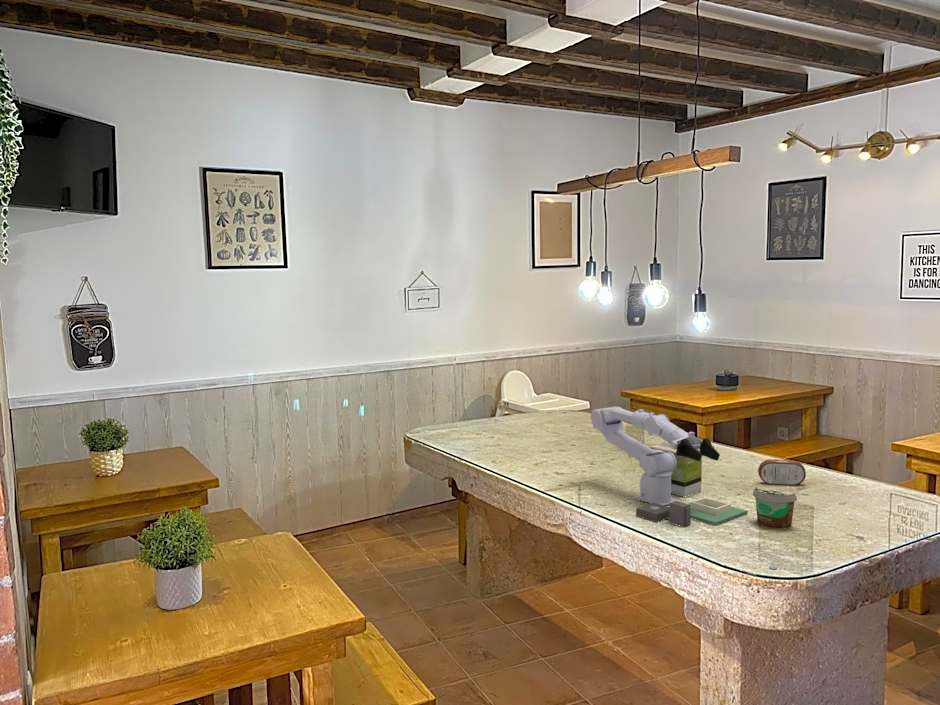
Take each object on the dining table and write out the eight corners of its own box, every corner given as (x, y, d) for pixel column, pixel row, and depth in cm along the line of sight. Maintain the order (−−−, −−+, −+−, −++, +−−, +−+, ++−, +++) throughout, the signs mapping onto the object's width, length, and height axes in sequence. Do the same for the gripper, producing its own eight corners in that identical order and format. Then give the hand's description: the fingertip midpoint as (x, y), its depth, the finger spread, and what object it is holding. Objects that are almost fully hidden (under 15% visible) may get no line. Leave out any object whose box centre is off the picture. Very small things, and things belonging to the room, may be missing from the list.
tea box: (647, 488, 251) (647, 446, 250) (664, 482, 258) (664, 441, 256) (685, 498, 240) (685, 453, 238) (702, 491, 246) (702, 448, 245)
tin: (804, 484, 251) (805, 460, 250) (806, 486, 248) (806, 462, 247) (757, 482, 255) (758, 458, 255) (758, 484, 252) (759, 460, 252)
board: (670, 512, 226) (670, 503, 226) (702, 501, 235) (702, 492, 235) (715, 525, 213) (715, 515, 213) (747, 513, 223) (747, 504, 222)
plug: (669, 522, 217) (669, 502, 216) (675, 520, 219) (675, 500, 218) (685, 527, 212) (685, 507, 212) (691, 525, 214) (692, 505, 214)
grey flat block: (636, 515, 224) (636, 507, 224) (653, 510, 229) (653, 502, 228) (662, 524, 216) (662, 515, 216) (680, 518, 221) (680, 509, 220)
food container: (745, 523, 214) (745, 490, 213) (754, 518, 219) (754, 485, 218) (787, 533, 206) (788, 498, 205) (796, 527, 210) (797, 493, 209)
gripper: (664, 425, 223) (696, 445, 212) (697, 425, 230) (730, 445, 219) (657, 446, 225) (689, 467, 214) (690, 445, 232) (722, 466, 221)
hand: (709, 457), depth 217 cm, fingers open, 7 cm apart
